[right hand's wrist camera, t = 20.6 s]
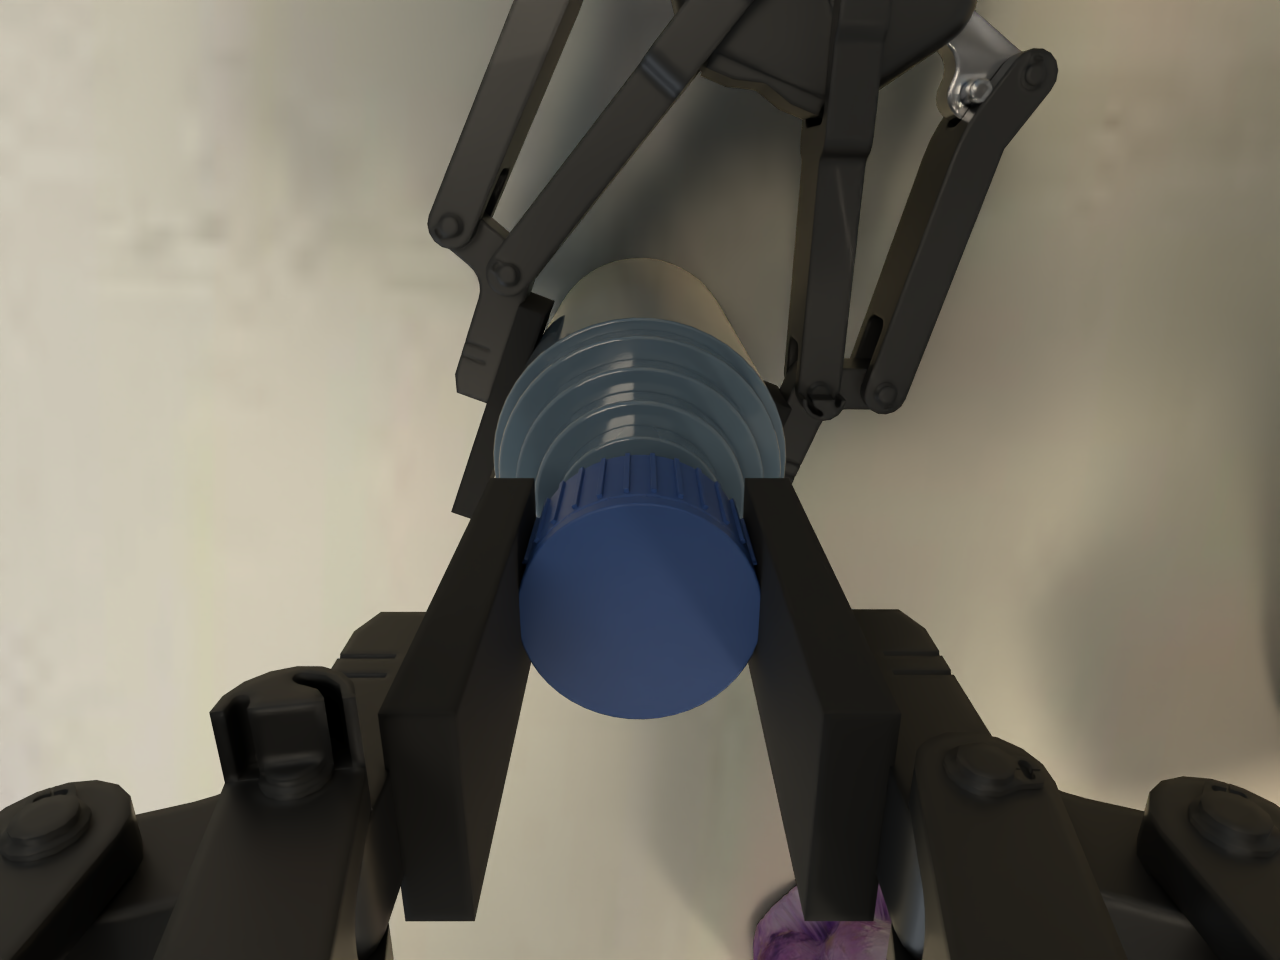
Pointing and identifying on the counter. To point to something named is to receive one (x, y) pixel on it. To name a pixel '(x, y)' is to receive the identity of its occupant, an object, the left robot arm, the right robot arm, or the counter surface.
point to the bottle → (639, 386)
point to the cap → (639, 589)
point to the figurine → (820, 934)
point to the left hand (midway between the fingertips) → (583, 536)
